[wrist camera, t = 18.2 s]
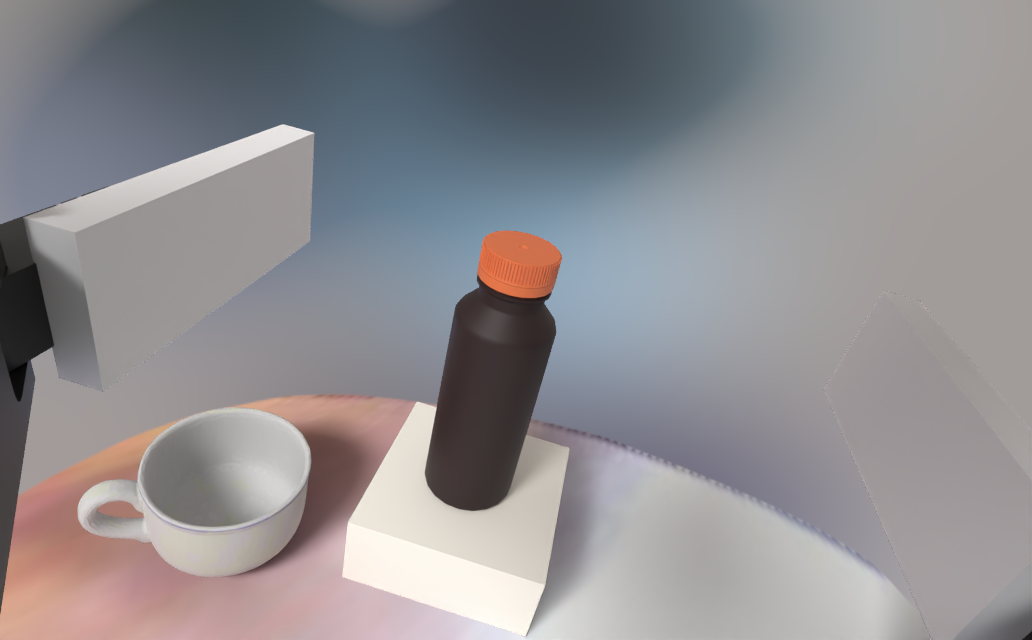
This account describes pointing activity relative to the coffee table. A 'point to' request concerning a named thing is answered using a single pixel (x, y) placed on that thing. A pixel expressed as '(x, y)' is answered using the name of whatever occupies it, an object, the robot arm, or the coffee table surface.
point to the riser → (457, 533)
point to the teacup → (212, 492)
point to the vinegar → (493, 371)
